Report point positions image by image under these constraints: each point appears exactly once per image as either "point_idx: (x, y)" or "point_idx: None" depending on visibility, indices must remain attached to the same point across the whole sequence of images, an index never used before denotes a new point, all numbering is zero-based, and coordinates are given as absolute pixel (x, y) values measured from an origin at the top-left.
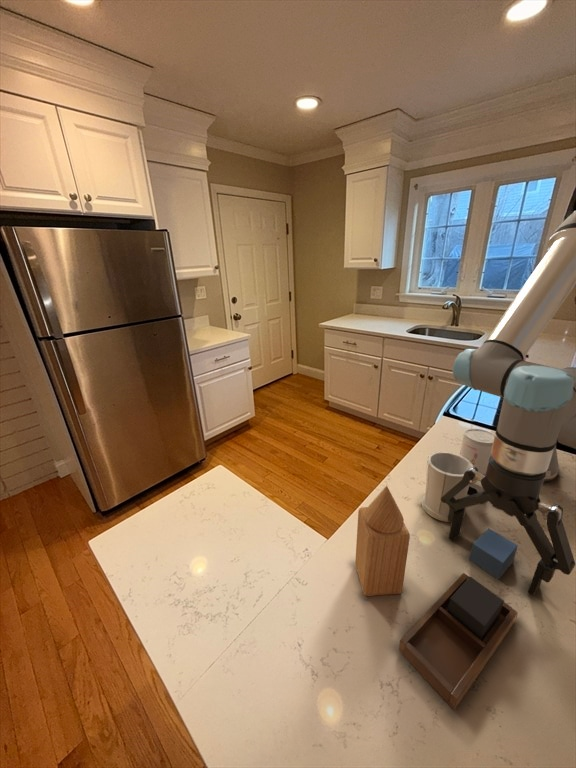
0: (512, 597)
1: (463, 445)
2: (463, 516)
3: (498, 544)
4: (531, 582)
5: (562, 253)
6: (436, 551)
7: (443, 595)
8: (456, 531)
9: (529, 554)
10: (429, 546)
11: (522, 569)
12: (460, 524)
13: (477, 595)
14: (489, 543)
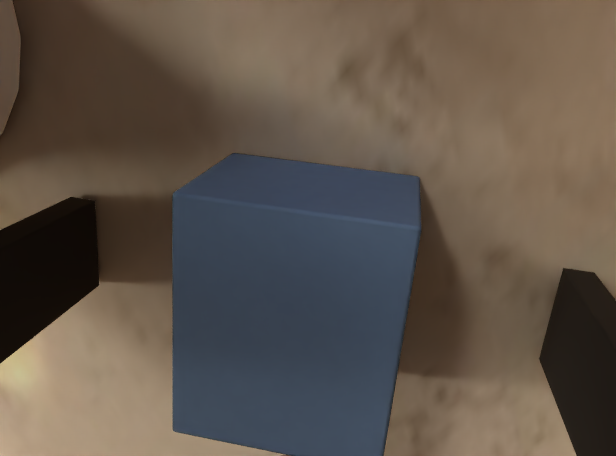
0: (475, 429)
1: None
2: (9, 9)
3: (298, 331)
4: (560, 411)
5: None
6: (91, 396)
7: None
8: (59, 282)
9: (498, 9)
10: (52, 389)
11: (482, 200)
12: (29, 259)
13: None
14: (247, 361)
